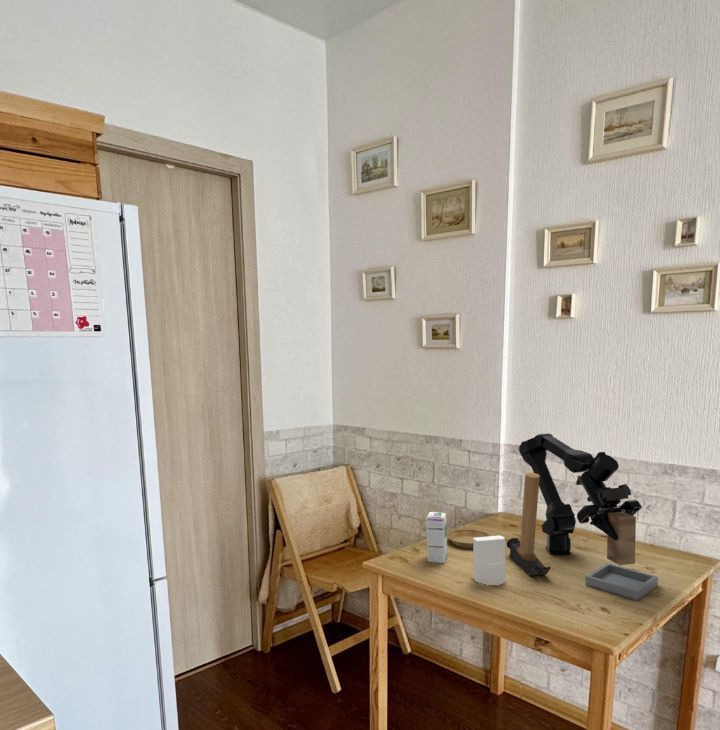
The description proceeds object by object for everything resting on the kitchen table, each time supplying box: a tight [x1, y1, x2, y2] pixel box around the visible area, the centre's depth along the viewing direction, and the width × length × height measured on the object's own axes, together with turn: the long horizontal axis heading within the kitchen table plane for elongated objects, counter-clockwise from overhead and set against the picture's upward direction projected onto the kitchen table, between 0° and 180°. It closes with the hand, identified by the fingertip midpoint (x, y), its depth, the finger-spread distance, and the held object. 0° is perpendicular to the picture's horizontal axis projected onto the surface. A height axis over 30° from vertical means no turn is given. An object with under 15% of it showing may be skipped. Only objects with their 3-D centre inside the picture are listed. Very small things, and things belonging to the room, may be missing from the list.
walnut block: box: [606, 512, 637, 566], centre depth 152 cm, size 5×5×13 cm
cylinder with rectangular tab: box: [472, 535, 506, 586], centre depth 158 cm, size 9×9×12 cm
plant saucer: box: [447, 528, 491, 549], centre depth 189 cm, size 15×15×3 cm
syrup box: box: [425, 511, 448, 564], centre depth 173 cm, size 6×6×14 cm
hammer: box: [506, 472, 552, 576], centre depth 164 cm, size 20×5×30 cm, turn 7°
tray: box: [584, 562, 659, 602], centre depth 152 cm, size 14×14×2 cm
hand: (624, 538), depth 151 cm, fingers closed on walnut block, 5 cm apart
